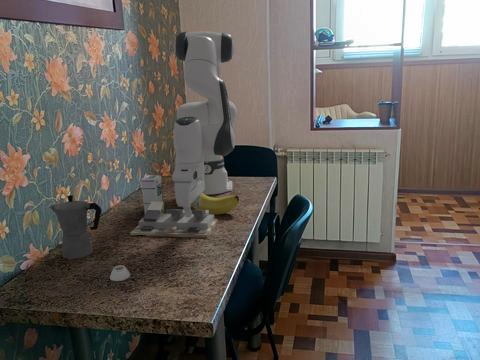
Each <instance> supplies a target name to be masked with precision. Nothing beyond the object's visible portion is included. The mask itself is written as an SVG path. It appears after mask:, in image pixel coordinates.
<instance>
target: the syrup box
mask: <svg viewBox="0 0 480 360" xmlns="http://www.w3.org/2000/svg"><path fill="white" fill-rule="evenodd" d="M140 183H141V191H142V199H143V200H142V201H143V211H144V215H145V214H146V212H147V210H148V208H149V205H150V203H151V202H163V203H164V205H163V208H162V210H161V212H160V213H163V214H164V213H165V212H166V209H165V202H164V193H163V192H164V191H163V183H162V176H161V175H160V174H149V175H146V176H145V177H143V178H141V179H140Z"/></svg>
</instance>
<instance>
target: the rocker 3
mask: <svg viewBox="0 0 480 360" xmlns="http://www.w3.org/2000/svg"><path fill="white" fill-rule="evenodd" d="M191 211H192V214H194V217H201V218H204V214H209V210H196V209H191Z"/></svg>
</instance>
